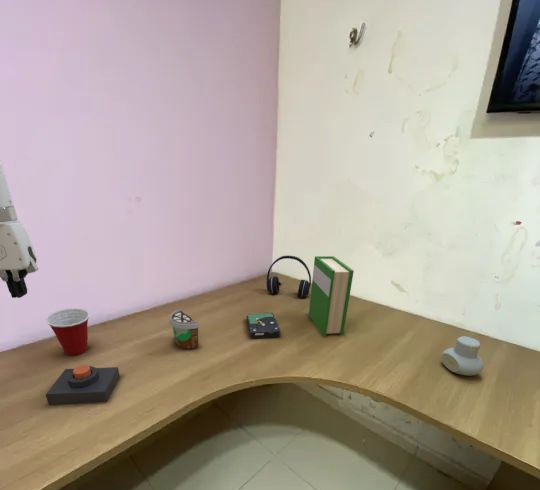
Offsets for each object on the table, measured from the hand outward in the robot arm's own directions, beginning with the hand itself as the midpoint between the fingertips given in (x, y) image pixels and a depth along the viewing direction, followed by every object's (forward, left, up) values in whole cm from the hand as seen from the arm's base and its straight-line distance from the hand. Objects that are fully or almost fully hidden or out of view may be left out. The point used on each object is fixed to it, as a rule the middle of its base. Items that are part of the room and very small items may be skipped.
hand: (19, 295), depth 73 cm
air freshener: (+118, -5, -23) cm, 120 cm away
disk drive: (+61, +24, -23) cm, 70 cm away
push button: (+13, -7, -19) cm, 24 cm away
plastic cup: (+3, +12, -23) cm, 26 cm away
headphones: (+76, +56, -23) cm, 97 cm away
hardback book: (+85, +26, -23) cm, 92 cm away
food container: (+34, +14, -23) cm, 44 cm away
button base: (+13, -7, -23) cm, 27 cm away
